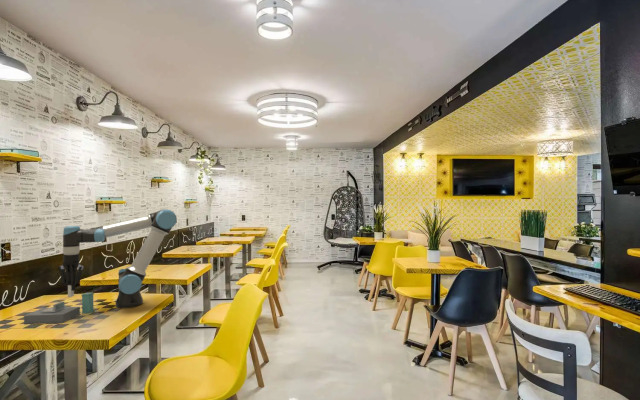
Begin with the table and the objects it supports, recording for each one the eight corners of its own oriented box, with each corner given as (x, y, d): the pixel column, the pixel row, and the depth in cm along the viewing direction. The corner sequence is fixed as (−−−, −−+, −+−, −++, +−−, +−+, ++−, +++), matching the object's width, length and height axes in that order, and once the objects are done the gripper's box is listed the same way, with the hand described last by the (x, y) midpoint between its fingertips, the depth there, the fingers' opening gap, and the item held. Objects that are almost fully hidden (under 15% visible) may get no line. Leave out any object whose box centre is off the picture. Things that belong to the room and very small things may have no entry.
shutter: (64, 308, 194) (64, 301, 194) (55, 312, 187) (55, 305, 187) (50, 308, 194) (50, 301, 194) (40, 312, 186) (40, 305, 187)
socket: (79, 314, 198) (79, 306, 198) (63, 322, 184) (63, 314, 184) (43, 315, 197) (43, 307, 197) (24, 324, 183) (24, 315, 183)
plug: (93, 311, 204) (93, 292, 204) (89, 313, 200) (89, 294, 200) (86, 311, 204) (86, 292, 204) (81, 313, 200) (81, 294, 200)
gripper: (87, 252, 195) (87, 294, 195) (63, 253, 195) (63, 294, 194) (79, 254, 188) (78, 298, 187) (54, 255, 187) (53, 298, 187)
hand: (70, 296), depth 191 cm, fingers closed
